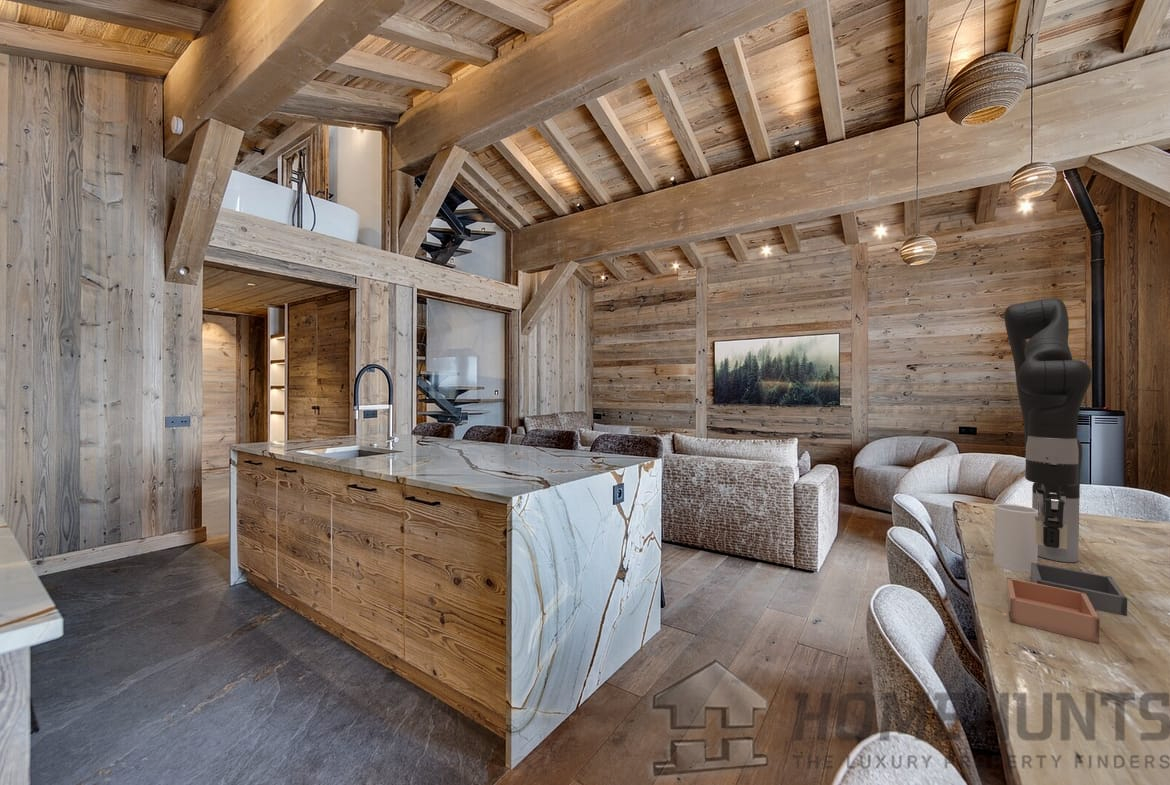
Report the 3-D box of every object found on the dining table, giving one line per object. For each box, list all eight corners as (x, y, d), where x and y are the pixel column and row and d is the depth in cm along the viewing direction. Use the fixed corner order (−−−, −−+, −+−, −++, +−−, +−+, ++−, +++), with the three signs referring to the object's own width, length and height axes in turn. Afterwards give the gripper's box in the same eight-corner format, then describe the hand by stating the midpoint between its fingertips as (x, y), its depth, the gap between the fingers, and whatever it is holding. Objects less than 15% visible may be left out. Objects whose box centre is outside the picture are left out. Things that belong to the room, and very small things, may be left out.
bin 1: (1006, 597, 103) (1006, 577, 103) (1085, 614, 96) (1085, 593, 96) (1010, 621, 93) (1010, 599, 93) (1099, 643, 85) (1099, 618, 85)
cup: (1022, 577, 114) (1023, 513, 114) (985, 565, 122) (986, 504, 122) (1045, 574, 116) (1046, 510, 116) (1008, 562, 124) (1009, 502, 124)
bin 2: (1030, 580, 112) (1031, 562, 112) (1111, 596, 104) (1111, 576, 104) (1036, 601, 102) (1037, 580, 102) (1126, 620, 93) (1127, 598, 93)
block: (1033, 538, 97) (1033, 515, 97) (1063, 543, 94) (1064, 519, 94) (1035, 544, 94) (1036, 520, 94) (1066, 549, 91) (1067, 524, 91)
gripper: (1022, 453, 102) (1021, 531, 102) (1028, 461, 91) (1027, 548, 91) (1072, 457, 97) (1070, 539, 97) (1084, 466, 86) (1082, 558, 86)
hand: (1049, 543), depth 94 cm, fingers closed on block, 4 cm apart
